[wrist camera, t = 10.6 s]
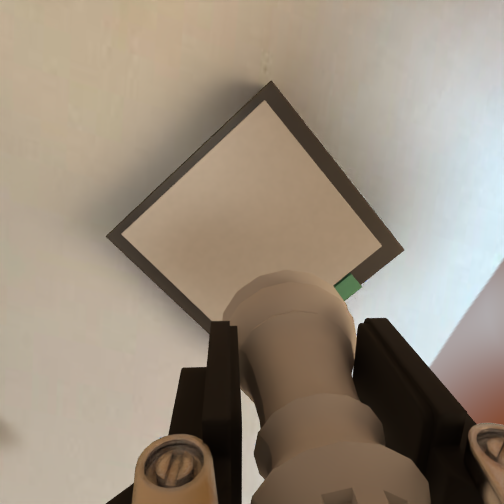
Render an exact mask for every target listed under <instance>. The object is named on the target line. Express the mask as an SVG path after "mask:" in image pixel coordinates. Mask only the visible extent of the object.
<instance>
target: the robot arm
mask: <svg viewBox="0 0 504 504" xmlns="http://www.w3.org/2000/svg"><path fill="white" fill-rule="evenodd" d="M353 382H354V385H355V389H356V392H357V396H358V398H359V400H360V402H361V403H363V404H365V405H367V406H369V407H370V408H371V410H372V411H373V412H374V413H375V415H376V416H377V417H378V419H379V420H380V421H381V423H382V425H383V431H384V437H385V447H387V448H389V449H391V450H393V451H395V452H397V453H399V454H401V455H403V456H405V457H407V458H409V459H411V460H412V461H413V463H414V464H415V465H416V467H417V468H418V469H419V470H420V472H421V473H422V474H423V476H424V477H425V478H426V480H427V481H428V482H429V491H430V499H431V504H504V425H500V424H493V423H480V424H478V425H477V424H476V423H475V422H474V421H473V419H472V418H471V417H470V416H469V415H468V414H467V411H466V410H465V409H464V408H463V407H462V406H461V404H460V403H459V402H458V401H457V400H456V399H455V398H454V396H453V395H452V394H451V393H450V392H449V390H448V389H447V388H446V387H445V386H444V385H443V384H442V382H441V381H440V380H439V379H438V378H437V377H436V375H435V374H434V373H433V372H432V371H431V369H430V368H429V367H428V366H427V365H426V364H425V362H424V361H423V360H422V359H421V358H420V357H419V355H418V354H417V353H416V352H415V351H414V350H413V348H412V347H411V346H410V345H409V344H408V343H407V341H406V340H405V339H404V338H403V337H402V336H401V334H400V333H399V332H398V331H397V330H396V329H395V327H394V326H393V325H392V324H391V323H390V322H389V320H388V319H386V318H366V319H365V321H364V323H360V324H359V325H358V331H357V340H356V350H355V359H354V369H353ZM106 504H242V413H241V391H240V371H239V350H238V329H237V326H230V321H211V326H210V337H209V348H208V359H207V367H193V368H182V370H181V374H180V379H179V384H178V389H177V394H176V399H175V404H174V409H173V414H172V419H171V424H170V429H169V434H168V436H165V437H162V438H160V439H158V440H156V441H154V442H153V443H151V444H150V445H149V446H148V447H147V448H145V449H144V451H143V452H142V454H141V455H140V456H139V458H138V461H137V464H136V468H135V477H134V483H133V484H132V485H131V486H129V487H128V488H126V489H125V490H124V491H122V492H121V493H120V494H118V495H117V496H116V497H114V498H113V499H111V500H110V501H109V502H107V503H106Z"/></svg>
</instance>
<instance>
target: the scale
mask: <svg viewBox="0 0 504 504" xmlns="http://www.w3.org/2000/svg"><path fill="white" fill-rule="evenodd" d="M106 237H107V238H108V239H109V240H110V241H111V242H112V243H113V244H114V245H115V246H116V247H118V248H119V249H120V250H121V251H122V252H123V253H124V254H125V255H126V256H127V257H128V258H129V259H130V260H131V261H132V262H133V263H134V264H136V265H137V266H138V267H139V268H140V269H141V270H142V271H143V272H144V273H145V274H146V275H147V276H148V277H149V278H150V279H151V280H153V281H154V282H155V283H156V284H157V285H158V286H159V287H160V288H161V289H162V290H163V291H164V292H165V293H166V294H167V295H168V296H170V297H171V298H172V299H173V300H174V301H175V302H176V303H177V304H178V305H179V306H180V307H181V308H182V309H183V310H184V311H185V312H186V313H188V314H189V315H190V316H191V317H192V318H193V319H194V320H195V321H196V322H197V323H198V324H199V325H200V326H201V327H202V328H203V329H205V330H206V331H207V332H208V333H209V334H210V326H211V321H222V318H223V312H224V311H225V309H226V307H227V306H228V304H229V303H230V301H231V300H232V298H233V297H234V295H235V294H236V292H237V291H238V290H239V289H241V288H242V287H244V286H245V285H247V284H248V283H250V282H251V281H252V280H254V279H255V278H257V277H258V276H261V275H265V274H269V273H273V272H277V271H282V270H292V271H299V272H307V273H312V274H314V275H316V276H317V277H319V278H321V279H322V280H324V281H326V282H328V283H329V284H331V285H333V286H334V288H335V289H336V290H337V292H338V293H339V295H340V296H341V297H342V299H343V300H344V301H345V300H346V299H348V298H349V297H350V296H351V295H353V294H354V293H355V292H356V291H358V290H359V289H360V288H361V287H362V286H361V284H362V283H364V282H365V281H366V280H367V279H369V278H370V277H371V276H372V275H374V274H375V273H376V272H377V271H379V270H380V269H381V268H383V267H384V266H385V265H386V264H388V263H389V262H390V261H391V260H393V259H394V258H395V257H396V256H398V255H399V254H400V253H401V252H403V251H404V249H403V247H402V246H401V245H400V243H399V242H398V241H397V240H396V238H395V237H394V236H393V235H392V233H391V232H390V231H389V229H388V228H387V227H386V226H385V224H384V223H383V222H382V221H381V219H380V218H379V217H378V215H377V214H376V213H375V212H374V210H373V209H372V208H371V207H370V205H369V204H368V203H367V201H366V200H365V199H364V198H363V196H362V195H361V194H360V193H359V191H358V190H357V189H356V187H355V186H354V185H353V184H352V182H351V181H350V180H349V179H348V177H347V176H346V175H345V173H344V172H343V171H342V170H341V168H340V167H339V166H338V165H337V163H336V162H335V161H334V159H333V158H332V157H331V156H330V154H329V153H328V152H327V151H326V149H325V148H324V147H323V145H322V144H321V143H320V142H319V140H318V139H317V138H316V137H315V135H314V134H313V133H312V131H311V130H310V129H309V128H308V126H307V125H306V124H305V123H304V121H303V120H302V119H301V117H300V116H299V115H298V114H297V112H296V111H295V110H294V109H293V107H292V106H291V105H290V103H289V102H288V101H287V100H286V98H285V97H284V96H283V95H282V93H281V92H280V91H279V89H278V88H277V87H276V86H275V84H274V83H273V82H272V81H270V82H269V83H268V84H267V85H266V86H265V87H264V88H263V89H262V90H261V91H260V92H258V93H257V94H256V95H255V96H254V97H253V98H252V99H251V100H250V101H249V102H248V103H247V104H246V105H245V106H244V107H243V108H241V109H240V110H239V111H238V112H237V113H236V114H235V115H234V116H233V117H232V118H231V119H230V120H229V121H228V122H227V123H226V124H224V125H223V126H222V127H221V128H220V129H219V130H218V131H217V132H216V133H215V134H214V135H213V136H212V137H211V138H210V139H209V140H208V141H206V142H205V143H204V144H203V145H202V146H201V147H200V148H199V149H198V150H197V151H196V152H195V153H194V154H193V155H192V156H191V157H189V158H188V159H187V160H186V161H185V162H184V163H183V164H182V165H181V166H180V167H179V168H178V169H177V170H176V171H175V172H174V173H172V174H171V175H170V176H169V177H168V178H167V179H166V180H165V181H164V182H163V183H162V184H161V185H160V186H159V187H158V188H157V189H156V190H154V191H153V192H152V193H151V194H150V195H149V196H148V197H147V198H146V199H145V200H144V201H143V202H142V203H141V204H140V205H139V206H137V207H136V208H135V209H134V210H133V211H132V212H131V213H130V214H129V215H128V216H127V217H126V218H125V219H124V220H123V221H122V222H120V223H119V224H118V225H117V226H116V227H115V228H114V229H113V230H112V231H111V232H110V233H109V234H108V235H107V236H106Z"/></svg>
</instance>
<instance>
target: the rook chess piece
mask: <svg viewBox="0 0 504 504" xmlns="http://www.w3.org/2000/svg"><path fill="white" fill-rule="evenodd" d="M222 321H230V326H237V329H238V350H239V371H240V389H241V390H242V391H243V392H244V393H245V394H246V395H247V396H248V397H249V398H250V399H251V400H252V401H253V402H254V403H255V406H256V410H257V413H258V416H259V420H260V427H261V429H260V431H259V432H258V435H257V440H256V445H255V450H254V457H255V460H256V464H257V467H258V470H259V474H260V475H261V476H262V477H263V478H264V479H265V480H264V482H263V483H262V484H261V486H260V487H259V488H258V490H257V491H256V492H255V494H254V495H253V496H252V500H251V504H431V499H430V491H429V482H428V481H427V480H426V478H425V477H424V476H423V474H422V473H421V472H420V470H419V469H418V468H417V467H416V465H415V464H414V463H413V461H412V460H411V459H409V458H407V457H405V456H403V455H401V454H399V453H397V452H395V451H393V450H391V449H389V448H387V447H385V437H384V431H383V425H382V423H381V421H380V420H379V419H378V417H377V416H376V415H375V413H374V412H373V411H372V410H371V408H370V407H369V406H367V405H365V404H363V403H361V402H360V400H359V398H358V396H357V392H356V389H355V385H354V382H353V378H352V375H351V374H352V370H353V366H354V359H355V350H356V340H357V338H356V332H355V326H354V320H353V317H352V316H351V314H350V313H349V311H348V309H347V305H346V303H345V302H344V300H343V299H342V297H341V296H340V295H339V293H338V292H337V290H336V289H335V288H334V286H333V285H331V284H329V283H328V282H326V281H324V280H322V279H321V278H319V277H317V276H316V275H314V274H312V273H307V272H299V271H292V270H282V271H277V272H273V273H269V274H265V275H261V276H258V277H257V278H255V279H254V280H252V281H251V282H250V283H248V284H247V285H245V286H244V287H242V288H241V289H239V290H238V291H237V292H236V294H235V295H234V297H233V298H232V300H231V301H230V303H229V304H228V306H227V307H226V309H225V311H224V312H223V318H222Z"/></svg>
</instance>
